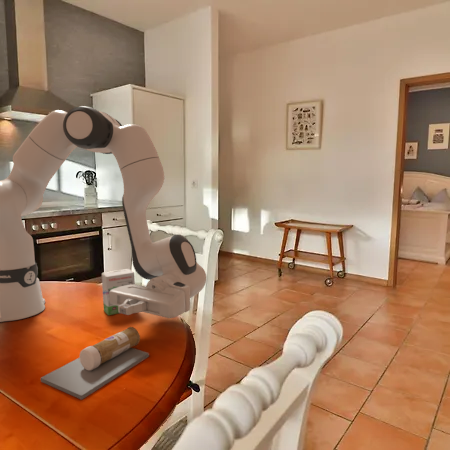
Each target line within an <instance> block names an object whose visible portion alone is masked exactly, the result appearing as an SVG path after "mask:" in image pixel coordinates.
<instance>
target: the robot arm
mask: <svg viewBox="0 0 450 450" xmlns="http://www.w3.org/2000/svg"><path fill="white" fill-rule="evenodd" d="M77 148H80V149H84V150H86V151H89V152H90V153H91V152H92V153H100V154H103V155H111V154H113V156H114V158H115V160H116V162H117V165H118V168H119V171H120V174H121V177H122V183H123V194H122V197H121V203H122V205H121V207H122V211H123V215H124V220H125V226H126V229H127V233H128V237H129V241H130V242H129V243H130V247H131V259H132V266H133V268H134V271H135V272H136V273H137V274H138V275H139V276H140V277H142V278H143V279H145V280H148V281H147V283H146V286H145V285H139V284H129V285H124V286H121V287H117V288H114V289H111V290H110V292H109V300H110V304H112V305H116V306H118V312H119V313H118V314H123V315H126V316H129V315H132V314H136V313H137V314H138V313H147V314H150V315H154V316H159V317H162V318H166V319H174V318H177V317H179V316H181V315H182V314H185V313H187V312H189V311H190V310H191V298H193V297H195V296H196V295H198V294H199V293H200V292H201V291H202V290H203V289H204V288H205V285H206V283H207V274H206V271H205V269H204V267H202V266H201V264H199V263H198V262H197V256H196V252H195V249H194V248H195V247H194V246H193V245H192V243H191V242H190V241H189V240H188V238H186V237H185V236H183V235H180V234H174V235H171V236H167V237H165V238H162V239H159V240H156V241H154V242H153V240H152V239H151V235H150V230H149V225H148V221H147V216H146V215H147V208H148V206H149V204H151V203H150V202H152V200H153V199H155V197H156V195H158V194H159V192H160V191H161V190H162V187H163V185H164V183H165V172H164V168H163V165H162V162H161V160H160V159H161V158H160V156H159V154H158V152H157V149H156V147H155V145H154V143H153V140H152V139H151V137H150V135H149V134H148V132H147V130H146V129H145V128H144V127H143V126H142V125H140V124H135V123H128V124H124V125H122V124H121V122H120V121H118V119H116V118H114V117H113V116H111V115H110V114H108V113H106V112H104V111H100V110H97V108H94V107H90V106H85V105H84V106H83V105H81V106H75V107H73V108H71V109H69V111H68V112H67V111H66V110H65V111H64V110H61V109H60V110H59V109H56V110H52V111H51V112H49V113H48V114H47V115H45V117H44V118H42V119H41V121H39V123H38V124H36V125H35V127H34V128H33V129H32V130H31V131H30V133H29V134H28V135H27V137H26V138H25V139H24V141H23V142H22V143H21V144H20V146H19V147H18V148H17V150H16V151H15V152H14V154H13V155H12V162H13V165H12V169H11V171H10V172H9V175H8V176H7V177H6V178H4V179H2V180H0V323H2V322H11V321H18V320H22V319H26V318H29V317H32V316H35V315H38V314H40V313H41V312H43V311H44V310H45V309H46V306H45V303H46V299H45V298H43V292H42V286H41V282H40V279H39V278H38V274H39V272H38V269H39V268H38V265H37V264H38V263H37V262H36V260H35V246H34V239H33V237H32V235H31V234H30V233H28V231H27V229H26V228H25V226H24V223H23V220H22V217H25V216H29V215H30V214H32V213H34V212H36V211H38V210H39V209H40V208H41V206H42V205H43V201H44V193H45V191H46V189H47V187H48V185H49V183H50V182H51V180H52V178H53V177H54V175H55V174H56V173H57V172H58V171H59V169H60V168H61V166H63V164H64V163H65V161H66V160H67V159H68V157H69V156H70V155H71V153H72V152H73V151H74V150H75V149H77Z"/></svg>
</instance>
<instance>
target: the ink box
mask: <svg viewBox="0 0 450 450" xmlns="http://www.w3.org/2000/svg"><path fill="white" fill-rule="evenodd" d="M135 283H136V280H135V272H134V271H132V269H130V268H125V269H124V268H123V269H117V270H116V269H115V270H110V271H108V270H107V271H104V272H102V273H101V285H102V286H101V287H102V300H103V301H102V302H103V311H104V313H105V314H107V316H112V315H117V314H120V313H119V312H118V306H116V305H112V304H110V300H109V292H110V290H111V289H114V288H117V287H121V286H124V285H129V284H135ZM135 285H136V284H135Z"/></svg>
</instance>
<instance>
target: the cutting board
mask: <svg viewBox="0 0 450 450" xmlns="http://www.w3.org/2000/svg"><path fill="white" fill-rule="evenodd" d="M149 357H150V353H149V352H147V351H145V350H144V351H143V350H140V349H137V348H133V347H131V348H129V349H128V350H126V351H124V352H123V353H121V354H119V355H117V356H115V357H114V358H112V359H110V360H108V361H106V362H104V363H102V364H101V365H99V366H98V367H97V368H95V369H93V370H90V371H89V370H86V369H85V368H84V367H83V366H82V364H81V362H80V357H78V358H76V359H74V360H72V361H70V362H68V363H66V364H64V365H63V366H61V367H58V368H56V369H55V370H52V371H51V372H49V373H47V374H45V375H43V376H41V377H40V383H43V384H45V385H48V386H49V387H52V388H54V389H57V390H59V391H61V392H64V393H66V394H68V395H70V396H73V397H75V398H77V399H79V400H85V398H86V397H88V396H90V395H91V394H93V393H95V392H96V391H97V390H99V389H101V388H102V387H104V386H105V385H107V384H109V383H110V382H112V381H113V380H114V379H116V378H118V377H119V376H122V374H124V373H126V372H127V371H128V370H129V371H130V370H131V369H132V368H133V367H135V366H137V365H138V364H140V363H141V362H143V361H145V360H146V359H147V358H149Z"/></svg>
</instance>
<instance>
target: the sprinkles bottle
mask: <svg viewBox="0 0 450 450" xmlns="http://www.w3.org/2000/svg"><path fill="white" fill-rule="evenodd" d="M140 340H141V337H140V333H139V330H138V329H136V328H135V327H134V326H129V327H127V328H126V329H124V330H122V331H120V332H119V331H118V332H117V333H115V334H113V335H111V336H109V337H106V338H105V339H103V340H101V341H100V342H97V343H95V344H93V345H89V346H87V347H85V348H83V349H82V350H80V351H79V358H80V362H81V364H82V366H83V367H84V368H85V369H86V370H89V371H90V370H93V369H95V368H97V367H98V366H99V365H101V364H102V363H104V362H106V361H108V360H110V359H112V358H114V357H115V356H117V355H119V354H121V353H123V352H124V351H126V350H128V349H129V348H133V347H135V346H137V345H138V344H139V343H140Z"/></svg>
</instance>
